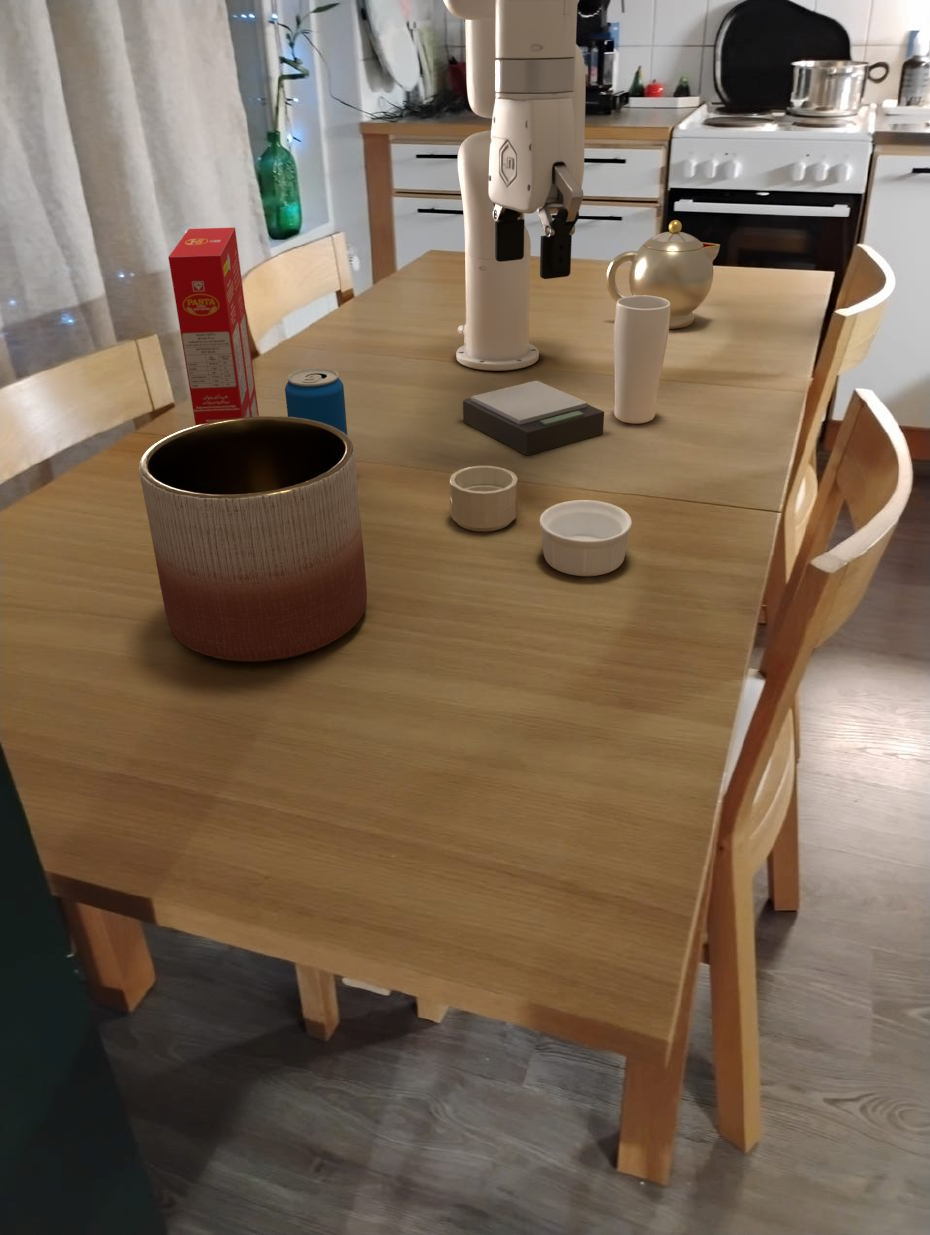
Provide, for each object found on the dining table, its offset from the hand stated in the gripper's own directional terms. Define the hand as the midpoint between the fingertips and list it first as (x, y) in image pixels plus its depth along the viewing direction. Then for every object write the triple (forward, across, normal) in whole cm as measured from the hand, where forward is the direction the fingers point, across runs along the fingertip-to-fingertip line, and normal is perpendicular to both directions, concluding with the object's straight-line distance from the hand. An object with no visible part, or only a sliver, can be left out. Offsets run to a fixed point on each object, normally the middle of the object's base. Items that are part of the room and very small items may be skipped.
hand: (531, 268), depth 104 cm
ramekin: (+24, +19, -4) cm, 31 cm away
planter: (+24, +16, -35) cm, 45 cm away
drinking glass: (+23, -11, +22) cm, 34 cm away
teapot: (+22, -46, +50) cm, 72 cm away
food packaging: (+23, -23, -28) cm, 43 cm away
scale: (+23, -14, +8) cm, 28 cm away
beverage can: (+24, -12, -21) cm, 34 cm away
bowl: (+24, +7, -9) cm, 26 cm away
